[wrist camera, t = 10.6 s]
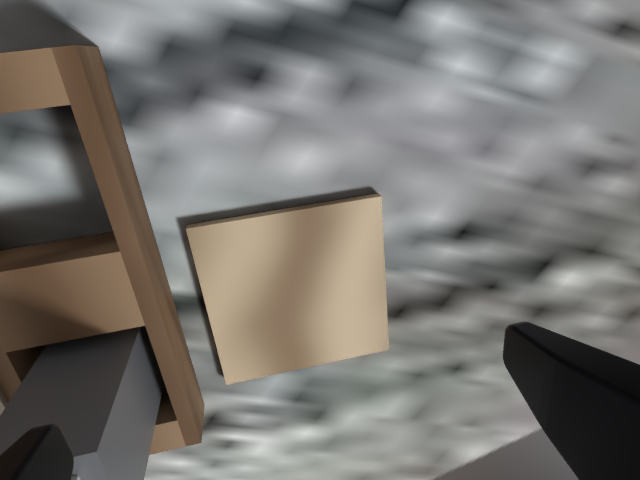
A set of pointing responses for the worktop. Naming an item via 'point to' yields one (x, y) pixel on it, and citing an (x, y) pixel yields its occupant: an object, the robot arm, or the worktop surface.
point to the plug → (93, 402)
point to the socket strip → (92, 249)
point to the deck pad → (294, 285)
